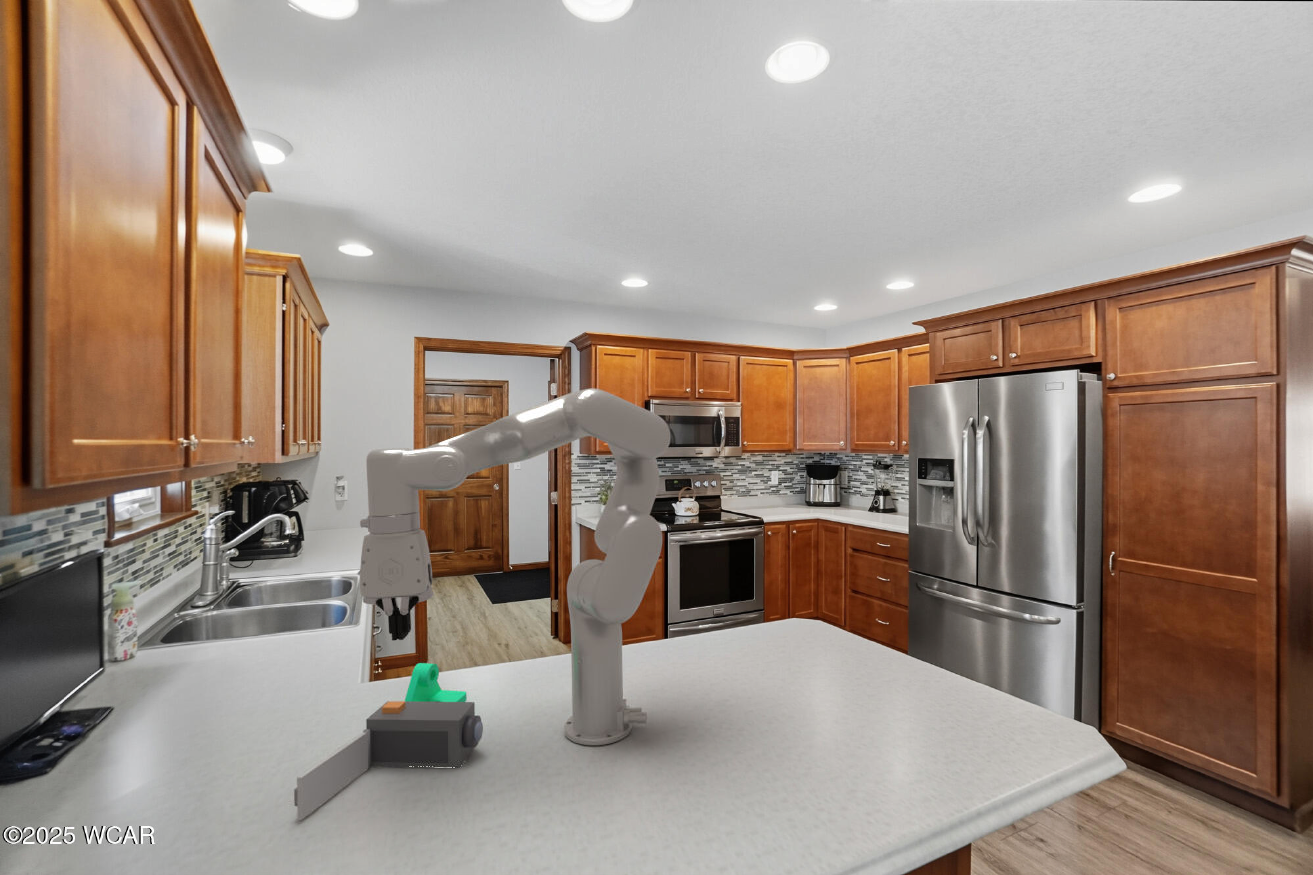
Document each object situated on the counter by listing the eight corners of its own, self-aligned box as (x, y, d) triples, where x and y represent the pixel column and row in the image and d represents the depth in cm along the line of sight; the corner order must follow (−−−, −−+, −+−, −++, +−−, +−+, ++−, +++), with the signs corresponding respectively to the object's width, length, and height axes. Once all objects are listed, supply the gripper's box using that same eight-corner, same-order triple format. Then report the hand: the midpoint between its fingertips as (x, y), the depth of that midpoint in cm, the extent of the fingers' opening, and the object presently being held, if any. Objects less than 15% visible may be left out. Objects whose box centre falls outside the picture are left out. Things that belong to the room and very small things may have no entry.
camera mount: (437, 731, 113) (436, 677, 113) (400, 729, 115) (399, 675, 115) (468, 704, 125) (467, 654, 125) (435, 701, 127) (434, 653, 127)
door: (302, 820, 86) (302, 776, 87) (294, 819, 87) (293, 775, 87) (371, 767, 101) (371, 728, 101) (364, 766, 101) (364, 728, 101)
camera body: (487, 747, 107) (486, 696, 107) (472, 769, 100) (471, 714, 100) (388, 745, 108) (387, 695, 108) (366, 767, 101) (365, 713, 101)
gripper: (336, 530, 93) (342, 649, 93) (435, 525, 94) (441, 642, 94) (356, 523, 100) (362, 633, 100) (448, 518, 102) (453, 626, 102)
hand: (400, 637), depth 97 cm, fingers closed
